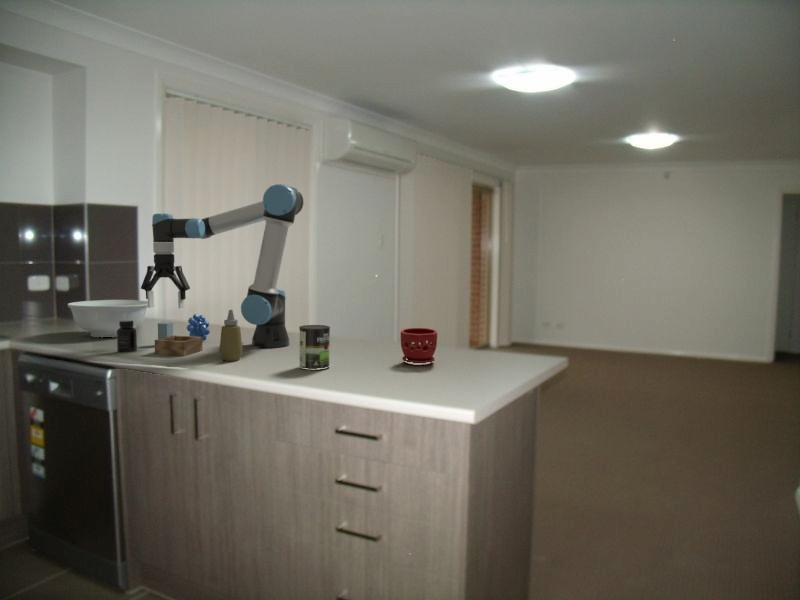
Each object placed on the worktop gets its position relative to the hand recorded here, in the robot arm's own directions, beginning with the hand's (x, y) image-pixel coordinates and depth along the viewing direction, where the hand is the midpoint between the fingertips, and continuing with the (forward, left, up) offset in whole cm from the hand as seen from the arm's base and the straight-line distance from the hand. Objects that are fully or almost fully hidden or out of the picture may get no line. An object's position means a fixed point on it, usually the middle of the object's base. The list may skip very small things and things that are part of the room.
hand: (166, 307), depth 242 cm
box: (-14, +12, -16) cm, 24 cm away
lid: (0, 0, -16) cm, 16 cm away
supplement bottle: (+6, +15, -16) cm, 23 cm away
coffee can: (-70, +18, -16) cm, 74 cm away
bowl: (+40, -18, -16) cm, 47 cm away
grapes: (-6, -15, -16) cm, 22 cm away
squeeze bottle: (-37, +15, -16) cm, 43 cm away
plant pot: (-102, -1, -16) cm, 103 cm away
